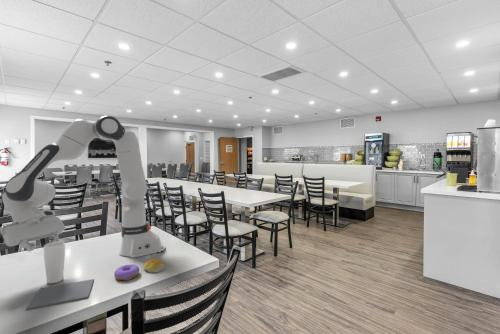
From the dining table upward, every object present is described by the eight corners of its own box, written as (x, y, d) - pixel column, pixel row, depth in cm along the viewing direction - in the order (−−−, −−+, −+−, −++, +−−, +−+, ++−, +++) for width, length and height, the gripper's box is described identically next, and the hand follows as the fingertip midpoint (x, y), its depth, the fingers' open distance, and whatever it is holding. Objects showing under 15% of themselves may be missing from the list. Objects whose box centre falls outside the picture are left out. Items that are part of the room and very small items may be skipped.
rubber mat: (93, 280, 101) (93, 279, 101) (88, 298, 88) (88, 296, 88) (40, 289, 94) (40, 288, 94) (26, 310, 81) (26, 308, 81)
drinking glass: (69, 278, 103) (69, 242, 102) (51, 286, 96) (51, 247, 96) (58, 275, 105) (57, 240, 104) (40, 283, 98) (39, 245, 98)
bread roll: (155, 263, 118) (155, 255, 118) (168, 268, 114) (168, 259, 113) (139, 269, 111) (139, 261, 111) (152, 275, 107) (152, 265, 106)
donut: (115, 272, 108) (117, 261, 108) (138, 273, 111) (140, 262, 112) (111, 282, 99) (114, 270, 99) (136, 283, 102) (139, 271, 102)
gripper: (0, 221, 95) (17, 250, 92) (58, 210, 114) (73, 234, 111) (-7, 231, 96) (10, 260, 93) (51, 219, 116) (66, 243, 112)
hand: (44, 246), depth 102 cm, fingers open, 8 cm apart
